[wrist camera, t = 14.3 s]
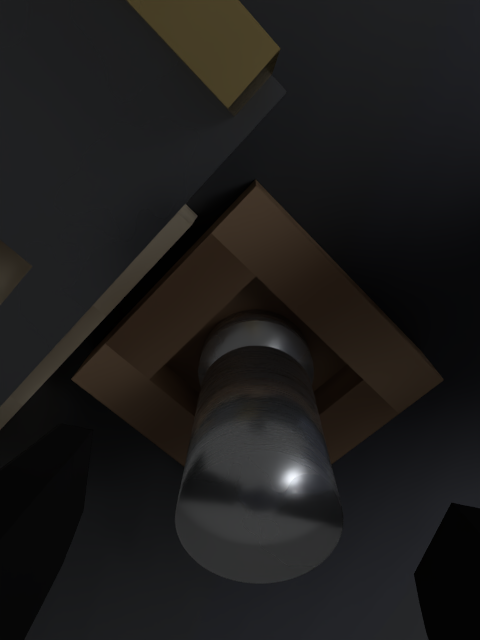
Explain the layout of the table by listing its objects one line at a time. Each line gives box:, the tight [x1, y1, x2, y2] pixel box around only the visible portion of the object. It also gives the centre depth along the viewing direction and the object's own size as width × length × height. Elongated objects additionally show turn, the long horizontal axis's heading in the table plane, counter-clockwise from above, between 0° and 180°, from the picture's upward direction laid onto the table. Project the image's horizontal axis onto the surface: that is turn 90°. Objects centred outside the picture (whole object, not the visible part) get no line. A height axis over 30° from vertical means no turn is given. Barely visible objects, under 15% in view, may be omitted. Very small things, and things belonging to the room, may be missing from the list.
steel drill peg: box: [175, 309, 343, 584], centre depth 12 cm, size 4×4×7 cm
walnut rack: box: [71, 179, 444, 467], centre depth 15 cm, size 8×8×2 cm
